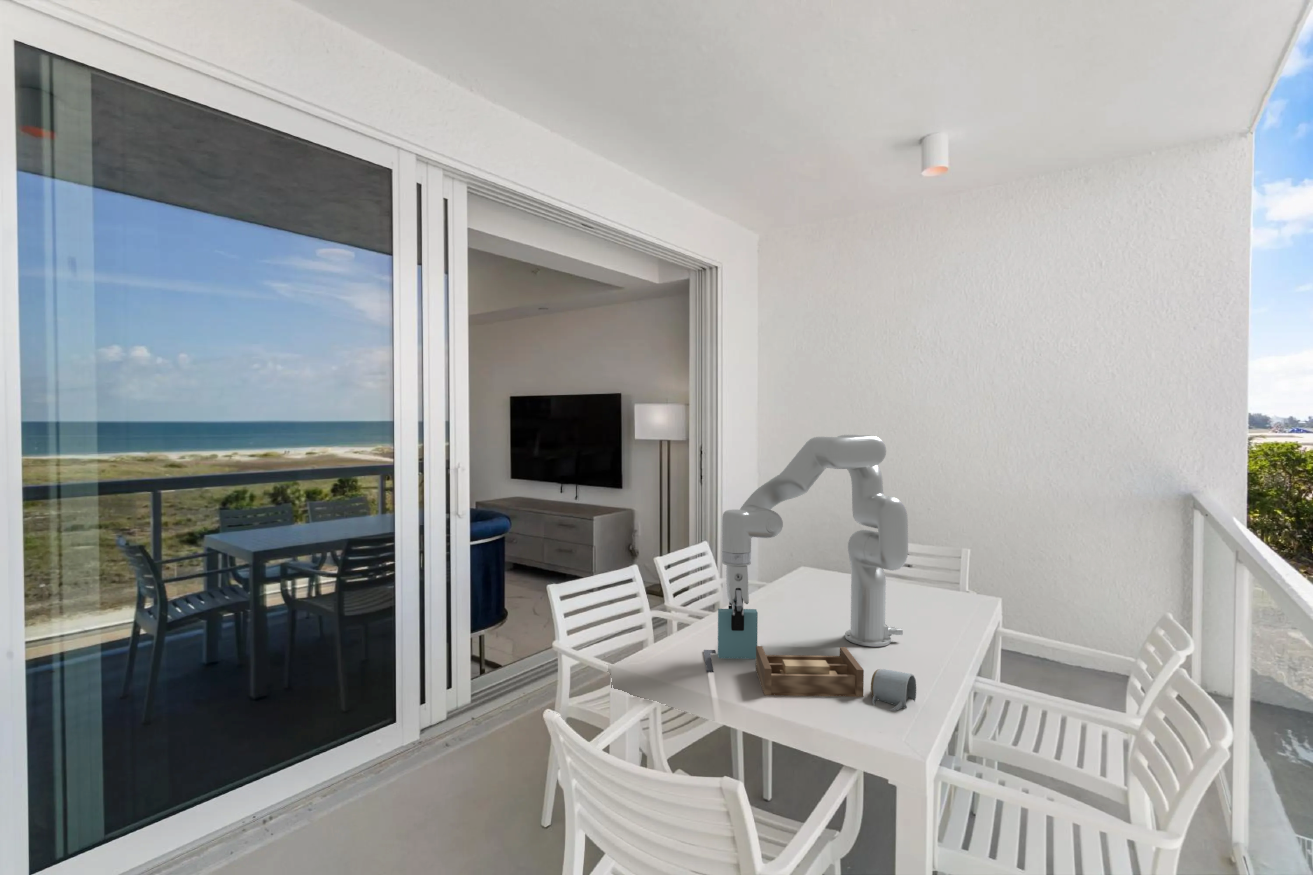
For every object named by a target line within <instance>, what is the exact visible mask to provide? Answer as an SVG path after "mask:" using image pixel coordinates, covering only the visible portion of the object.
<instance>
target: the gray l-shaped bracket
mask: <svg viewBox="0 0 1313 875" xmlns="http://www.w3.org/2000/svg"><path fill="white" fill-rule="evenodd" d="M712 654H713V655H714V654H717V651H716V649H703V656H704V663H705V668H706V669H705V670H706V673H714V672H715V671H714V666H713V662H712Z"/></svg>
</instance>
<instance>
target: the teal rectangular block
mask: <svg viewBox="0 0 1313 875" xmlns="http://www.w3.org/2000/svg"><path fill="white" fill-rule="evenodd" d="M743 610H744V630H743V631H732V630H731V614H732V609H728V608H717V658H718V659H737V660H738V659H748V660H751V659H752V660H756V646H758V614H759V613H758V610H757V609H756V608H743Z"/></svg>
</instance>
